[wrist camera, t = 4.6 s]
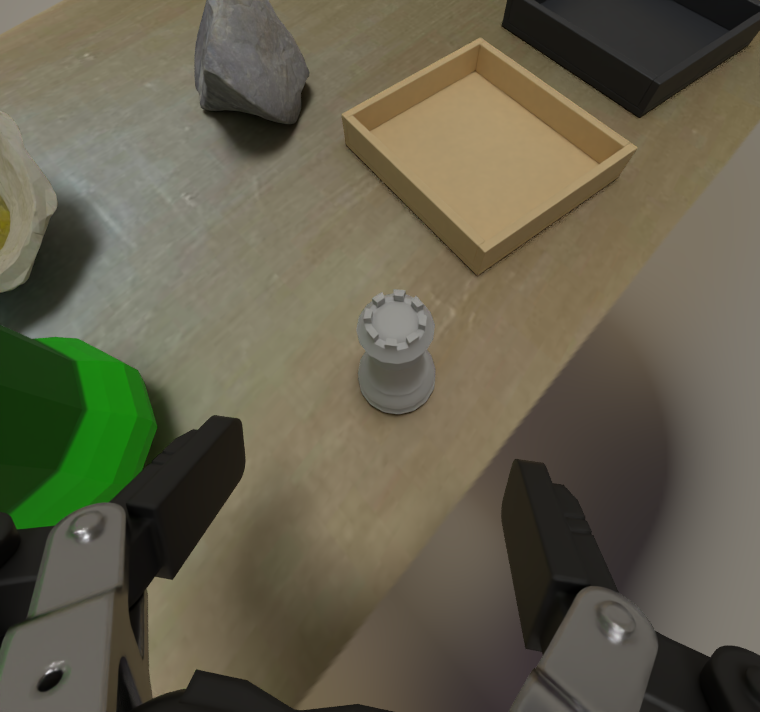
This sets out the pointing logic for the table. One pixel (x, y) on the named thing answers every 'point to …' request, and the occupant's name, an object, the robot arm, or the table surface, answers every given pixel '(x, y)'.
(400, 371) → the rook chess piece
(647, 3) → the charcoal tray
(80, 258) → the table surface
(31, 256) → the bowl
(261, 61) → the stone
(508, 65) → the birch tray
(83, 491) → the plastic bottle
